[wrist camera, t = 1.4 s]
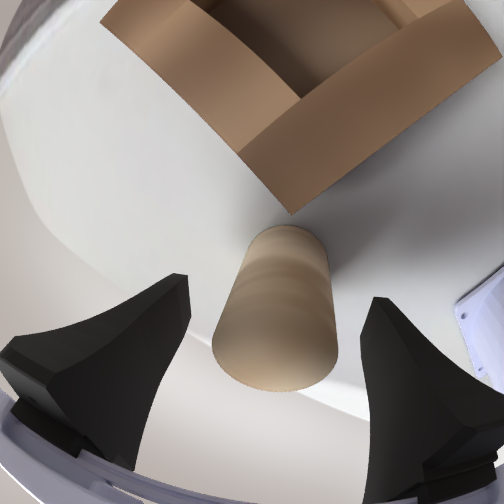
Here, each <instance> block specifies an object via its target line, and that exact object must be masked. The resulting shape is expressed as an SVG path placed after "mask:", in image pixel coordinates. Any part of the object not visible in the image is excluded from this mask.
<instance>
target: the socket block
mask: <svg viewBox="0 0 504 504" xmlns="http://www.w3.org/2000/svg"><path fill="white" fill-rule="evenodd" d="M99 23H101V24H102V25H103V26H104V27H105V28H107V29H108V30H109V31H110V32H111V33H112V34H114V35H115V36H116V37H117V38H118V39H119V40H120V41H122V42H123V43H124V44H125V45H126V46H127V47H128V48H129V49H131V50H132V51H133V52H134V53H135V54H136V55H137V56H138V57H139V58H140V59H142V60H143V61H144V62H145V63H146V64H147V65H148V66H149V67H150V68H151V69H152V70H153V71H154V72H156V73H157V74H158V75H159V76H160V77H161V78H162V79H163V80H164V81H165V82H166V83H167V84H168V85H169V86H170V87H171V88H172V89H173V90H174V91H175V92H176V93H177V94H178V95H179V96H180V97H181V98H182V99H184V100H185V101H186V102H187V103H188V104H189V105H190V106H191V107H192V108H193V109H194V110H195V111H196V112H197V113H198V114H199V116H200V117H201V118H202V119H203V120H204V121H205V122H206V123H207V124H208V125H209V126H210V127H211V128H212V129H213V130H214V131H215V132H216V133H217V134H218V135H219V136H220V137H221V138H222V139H223V140H224V141H225V142H226V143H227V145H228V146H229V147H230V148H231V149H232V150H233V151H234V152H235V153H236V154H237V155H238V156H239V157H240V158H241V160H242V161H243V162H244V163H245V164H246V165H247V166H248V167H249V168H250V169H251V170H252V171H253V173H254V174H255V175H256V176H257V177H258V178H259V179H260V180H261V181H262V183H263V184H264V185H265V186H266V187H267V188H268V189H269V190H270V192H271V193H272V194H273V195H274V196H275V197H276V198H277V199H278V201H279V202H280V203H281V204H282V205H283V206H284V208H285V209H286V210H287V211H288V212H289V213H290V214H291V216H292V215H293V214H294V213H296V212H297V211H298V210H300V209H301V208H302V207H304V206H305V205H306V204H307V203H309V202H310V201H311V200H313V199H314V198H315V197H317V196H318V195H319V194H321V193H322V192H323V191H325V190H326V189H327V188H329V187H330V186H331V185H332V184H334V183H335V182H336V181H338V180H339V179H340V178H342V177H343V176H344V175H346V174H347V173H348V172H350V171H351V170H352V169H354V168H355V167H356V166H358V165H359V164H360V163H361V162H363V161H364V160H365V159H367V158H368V157H369V156H371V155H372V154H373V153H375V152H376V151H377V150H379V149H380V148H381V147H383V146H384V145H385V144H387V143H388V142H389V141H391V140H392V139H393V138H395V137H396V136H397V135H399V134H400V133H401V132H403V131H404V130H405V129H407V128H408V127H409V126H411V125H412V124H413V123H415V122H416V121H417V120H419V119H420V118H421V117H423V116H424V115H425V114H427V113H428V112H429V111H431V110H432V109H433V108H435V107H436V106H437V105H439V104H440V103H441V102H443V101H444V100H445V99H447V98H448V97H449V96H451V95H452V94H453V93H455V92H456V91H457V90H459V89H460V88H461V87H463V86H464V85H465V84H467V83H468V82H469V81H471V80H472V79H473V78H475V77H476V76H478V75H479V74H480V73H482V72H483V71H484V70H486V69H487V68H488V67H490V66H491V65H492V64H494V63H495V62H496V61H498V60H499V59H501V58H502V57H503V56H502V55H501V53H500V52H499V50H498V48H497V47H496V45H495V44H494V42H493V40H492V39H491V37H490V36H489V34H488V33H487V31H486V30H485V29H484V27H483V26H482V24H481V23H480V22H479V20H478V19H477V18H476V16H475V15H474V14H473V12H472V11H471V10H470V9H469V7H468V6H467V5H466V4H465V2H464V1H463V0H118V1H117V2H116V3H115V5H114V6H113V7H112V8H111V9H110V10H109V11H108V13H107V14H106V15H105V16H104V17H103V19H102V20H101V21H100V22H99Z"/></svg>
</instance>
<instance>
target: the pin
mask: <svg viewBox="0 0 504 504" xmlns="http://www.w3.org/2000/svg"><path fill="white" fill-rule="evenodd" d="M212 350H213V354H214V357H215V359H216V361H217V363H218V364H219V365H220V367H221V368H222V369H223V370H224V371H225V372H226V373H227V374H228V375H230V376H231V377H232V378H234V379H235V380H237V381H239V382H240V383H243V384H245V385H247V386H249V387H252V388H256V389H259V390H264V391H271V392H290V391H297V390H301V389H304V388H307V387H310V386H312V385H314V384H316V383H318V382H320V381H321V380H323V379H324V378H325V377H326V376H327V375H328V374H329V373H330V372H331V371H332V369H333V368H334V366H335V364H336V362H337V358H338V342H337V332H336V322H335V313H334V304H333V296H332V288H331V280H330V273H329V266H328V259H327V254H326V251H325V249H324V247H323V245H322V244H321V242H320V241H319V240H318V239H317V238H316V237H315V236H314V235H313V234H312V233H310V232H308V231H307V230H304V229H302V228H299V227H295V226H287V225H284V226H276V227H272V228H269V229H267V230H265V231H263V232H262V233H260V234H259V235H258V236H257V237H255V239H254V240H253V241H252V242H251V244H250V246H249V248H248V250H247V253H246V255H245V257H244V260H243V262H242V265H241V267H240V270H239V272H238V275H237V277H236V280H235V282H234V285H233V287H232V290H231V292H230V295H229V297H228V300H227V302H226V305H225V307H224V310H223V312H222V315H221V317H220V320H219V322H218V325H217V327H216V329H215V332H214V334H213V338H212Z"/></svg>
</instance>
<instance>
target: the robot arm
mask: <svg viewBox="0 0 504 504" xmlns="http://www.w3.org/2000/svg"><path fill="white" fill-rule="evenodd" d="M454 313H455V316H456V318H457V321H458V323H459V326H460V329H461V331H462V334H463V337H464V339H465V342H466V345H467V348H468V351H469V354H470V357H471V360H472V363H473V366H474V370H475V373H476V376H477V378H482V377H484V376H485V375H487V374H488V377H489V379H490V381H491V383H492V386H493V388H494V389H492V388H491V387H489V386H487V385H485V384H484V383H482V382H480V381H479V380H477V379H476V378H474V377H472V376H471V375H470V374H468V373H467V372H465V371H464V370H463V369H461V368H460V367H459V366H457V365H456V364H455V363H453V362H452V361H451V360H450V359H449V358H447V357H446V356H445V355H444V354H443V353H442V352H440V351H439V350H438V349H437V348H436V347H435V346H434V345H433V344H432V343H431V342H430V341H429V340H428V339H427V338H426V337H425V336H424V335H423V334H422V333H421V332H420V331H419V330H418V329H417V328H416V327H415V326H414V325H413V324H412V322H411V321H410V320H409V319H408V318H407V317H406V316H405V315H404V314H403V313H402V312H401V311H400V309H399V308H398V307H397V306H396V305H395V304H394V303H393V302H392V301H391V300H390V299H389V298H383V297H373V300H372V303H371V306H370V309H369V312H368V315H367V318H366V321H365V324H364V327H363V329H362V332H361V335H360V347H361V360H362V366H363V372H364V377H365V383H366V389H367V395H368V401H369V410H370V452H369V464H368V474H367V481H366V487H365V493H364V498H363V503H362V504H504V464H502V465H500V466H498V467H496V468H495V467H494V463H493V462H495V461H496V460H497V459H498V455H497V450H498V449H499V448H501V447H502V446H503V445H504V266H503V267H502V268H501V269H500V270H499V271H497V272H496V273H495V274H494V275H493V276H491V277H490V278H489V279H488V280H486V281H485V282H484V283H483V284H481V285H480V286H479V287H478V288H476V289H475V290H474V291H472V292H471V293H470V294H468V295H467V296H466V297H464V298H463V299H462V300H460V301H459V302H458V303H457V304H456V305H455V306H454ZM463 313H464V314H463ZM462 314H463V315H462ZM190 319H191V307H190V297H189V286H188V275H182V274H176V273H173V274H171V275H169V276H167V277H165V278H164V279H162V280H160V281H159V282H157V283H155V284H154V285H152V286H151V287H149V288H147V289H146V290H144V291H142V292H141V293H139V294H137V295H136V296H134V297H132V298H130V299H128V300H127V301H125V302H123V303H121V304H119V305H118V306H116V307H114V308H112V309H110V310H108V311H106V312H103V313H101V314H99V315H96V316H94V317H92V318H89V319H87V320H84V321H81V322H78V323H75V324H72V325H69V326H66V327H63V328H59V329H55V330H51V331H47V332H42V333H36V334H29V335H22V336H15V337H14V338H13V339H12V340H11V341H10V342H9V343H8V344H7V345H6V347H5V348H4V349H3V350H2V351H1V352H0V371H1V373H2V374H3V376H4V377H5V378H6V380H7V381H8V383H9V384H10V385H11V387H12V388H13V389H14V391H15V392H16V393H17V395H18V396H19V397H20V398H19V399H18V400H17V402H15V401H14V400H13V399H12V398H11V397H10V396H9V395H8V394H6V393H5V392H4V391H3V390H1V389H0V466H1V467H2V468H3V469H4V470H5V471H6V472H7V473H8V474H9V475H10V476H11V477H12V478H13V479H14V480H15V481H16V482H17V483H18V484H19V485H20V486H22V487H23V488H24V489H25V490H26V491H27V492H28V493H29V494H31V495H32V496H33V497H34V498H35V499H37V500H38V501H39V502H40V503H41V504H144V503H143V502H142V501H141V500H138V499H136V498H134V497H132V496H130V495H128V494H125V493H123V492H121V491H119V490H117V489H115V488H114V487H113V486H115V487H118V488H120V489H122V490H124V491H127V492H129V493H132V494H134V495H137V496H139V497H142V498H144V499H147V500H150V501H153V502H156V503H159V504H257V503H249V502H242V501H235V500H230V499H224V498H219V497H214V496H210V495H206V494H201V493H197V492H193V491H189V490H186V489H182V488H178V487H174V486H172V485H168V484H165V483H162V482H159V481H156V480H153V479H150V478H148V477H144V476H142V475H139V474H136V473H134V472H133V471H134V470H135V464H136V460H137V455H138V451H139V446H140V442H141V439H142V435H143V431H144V428H145V424H146V421H147V418H148V415H149V412H150V409H151V406H152V403H153V400H154V398H155V395H156V392H157V389H158V387H159V385H160V382H161V380H162V378H163V376H164V374H165V372H166V370H167V368H168V366H169V365H170V363H171V361H172V359H173V357H174V355H175V353H176V351H177V349H178V347H179V345H180V343H181V342H182V340H183V338H184V335H185V333H186V330H187V327H188V324H189V321H190ZM112 485H113V486H112Z"/></svg>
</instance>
